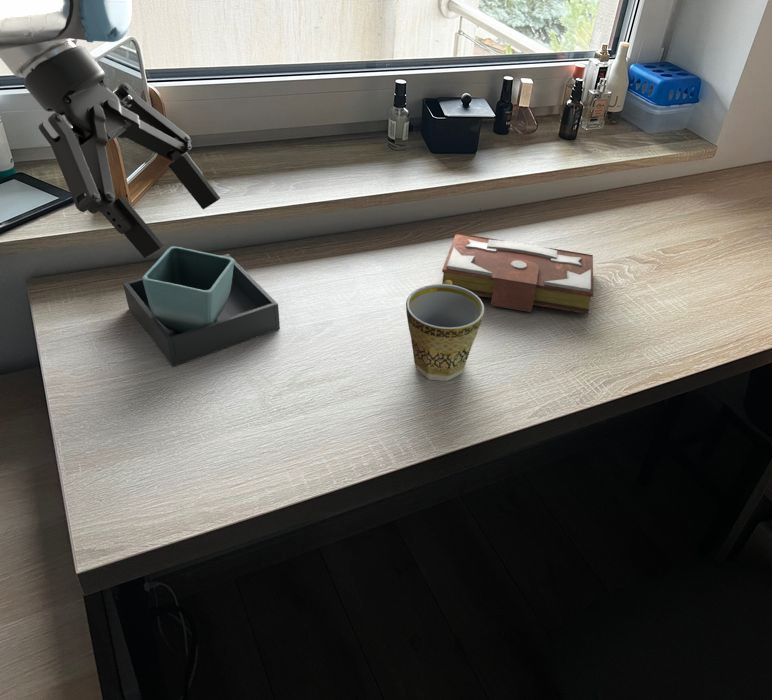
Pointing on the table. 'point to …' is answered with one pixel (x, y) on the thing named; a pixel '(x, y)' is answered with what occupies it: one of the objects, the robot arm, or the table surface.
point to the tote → (234, 324)
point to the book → (520, 273)
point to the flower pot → (188, 288)
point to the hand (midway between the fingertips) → (185, 226)
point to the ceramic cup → (442, 328)
